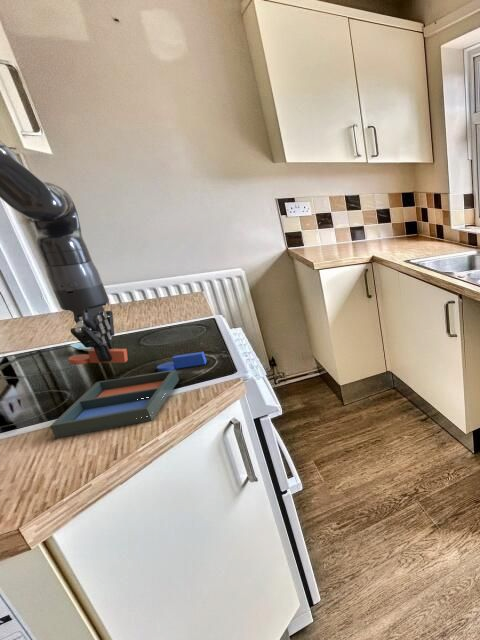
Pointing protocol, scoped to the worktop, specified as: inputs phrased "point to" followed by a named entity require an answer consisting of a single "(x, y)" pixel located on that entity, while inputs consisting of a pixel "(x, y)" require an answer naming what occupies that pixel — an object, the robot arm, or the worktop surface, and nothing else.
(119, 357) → the red long piece
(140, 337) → the worktop surface
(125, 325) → the worktop surface
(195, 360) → the blue spoon
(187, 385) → the worktop surface
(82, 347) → the pacifier
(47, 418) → the worktop surface
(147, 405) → the sorting tray
